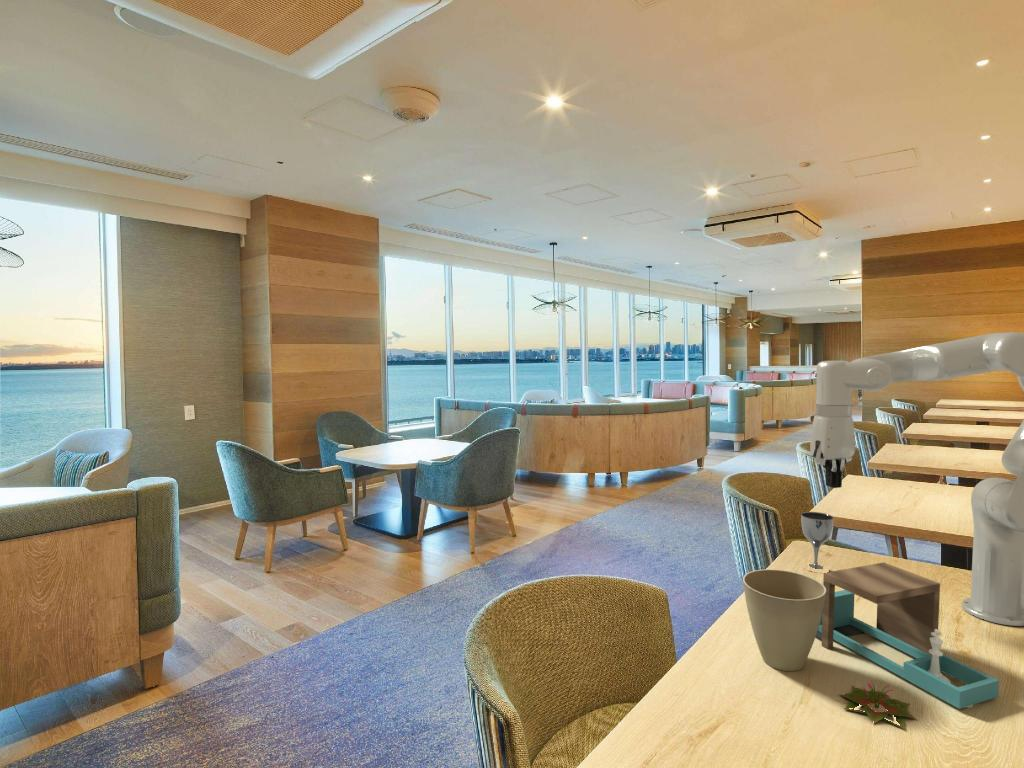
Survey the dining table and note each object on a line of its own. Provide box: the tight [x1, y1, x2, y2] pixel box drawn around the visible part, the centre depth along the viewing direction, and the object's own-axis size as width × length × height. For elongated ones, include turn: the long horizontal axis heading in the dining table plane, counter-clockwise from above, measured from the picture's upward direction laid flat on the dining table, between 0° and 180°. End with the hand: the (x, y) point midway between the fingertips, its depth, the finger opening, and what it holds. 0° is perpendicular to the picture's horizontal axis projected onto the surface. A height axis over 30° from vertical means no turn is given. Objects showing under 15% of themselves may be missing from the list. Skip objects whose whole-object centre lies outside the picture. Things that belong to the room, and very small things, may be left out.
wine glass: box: [800, 511, 834, 569], centre depth 165 cm, size 8×8×15 cm
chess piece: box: [927, 628, 952, 684], centre depth 109 cm, size 5×5×10 cm
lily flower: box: [840, 680, 917, 731], centre depth 102 cm, size 12×12×5 cm
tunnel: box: [815, 562, 941, 655], centre depth 125 cm, size 17×23×16 cm
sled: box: [818, 589, 1000, 710], centre depth 116 cm, size 10×31×7 cm, turn 20°
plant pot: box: [742, 568, 826, 672], centre depth 116 cm, size 15×15×16 cm
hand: (833, 486), depth 143 cm, fingers closed
